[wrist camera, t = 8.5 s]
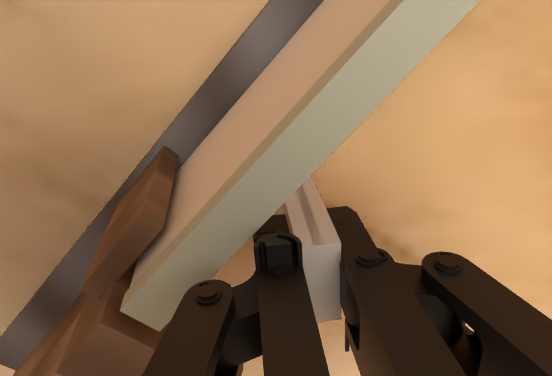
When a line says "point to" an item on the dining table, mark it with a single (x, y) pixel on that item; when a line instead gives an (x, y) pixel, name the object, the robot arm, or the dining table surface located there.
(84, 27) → the dining table surface
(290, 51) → the beige flat panel
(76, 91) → the dining table surface
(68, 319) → the fence
